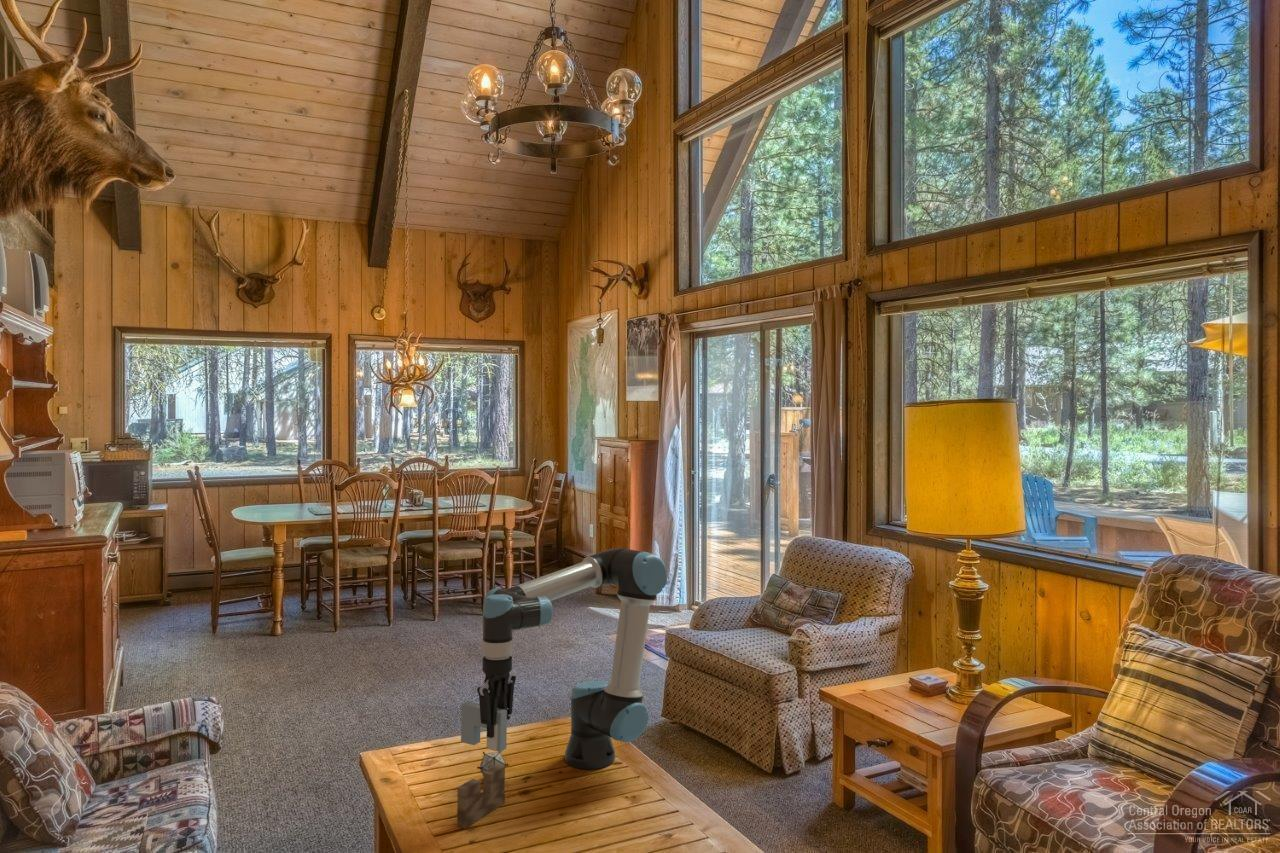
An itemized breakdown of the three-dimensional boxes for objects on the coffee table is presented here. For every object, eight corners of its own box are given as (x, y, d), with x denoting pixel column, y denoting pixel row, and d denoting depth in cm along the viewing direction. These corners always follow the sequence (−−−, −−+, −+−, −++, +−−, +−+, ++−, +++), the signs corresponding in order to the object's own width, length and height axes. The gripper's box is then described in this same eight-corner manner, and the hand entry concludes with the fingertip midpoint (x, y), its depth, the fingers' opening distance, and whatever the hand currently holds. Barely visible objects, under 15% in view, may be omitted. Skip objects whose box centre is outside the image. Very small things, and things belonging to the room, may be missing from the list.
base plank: (497, 801, 228) (497, 764, 227) (504, 803, 226) (504, 766, 226) (457, 826, 214) (457, 787, 213) (464, 828, 212) (465, 789, 212)
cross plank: (467, 738, 224) (467, 701, 224) (506, 748, 218) (506, 710, 217) (460, 741, 222) (461, 704, 221) (500, 752, 215) (500, 713, 215)
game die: (496, 795, 239) (500, 776, 233) (470, 782, 241) (473, 762, 235) (511, 769, 246) (515, 750, 240) (485, 756, 248) (489, 737, 242)
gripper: (504, 646, 226) (503, 734, 226) (466, 661, 212) (465, 754, 212) (527, 650, 222) (526, 739, 223) (489, 666, 209) (488, 760, 209)
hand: (496, 746), depth 218 cm, fingers closed on cross plank, 2 cm apart
